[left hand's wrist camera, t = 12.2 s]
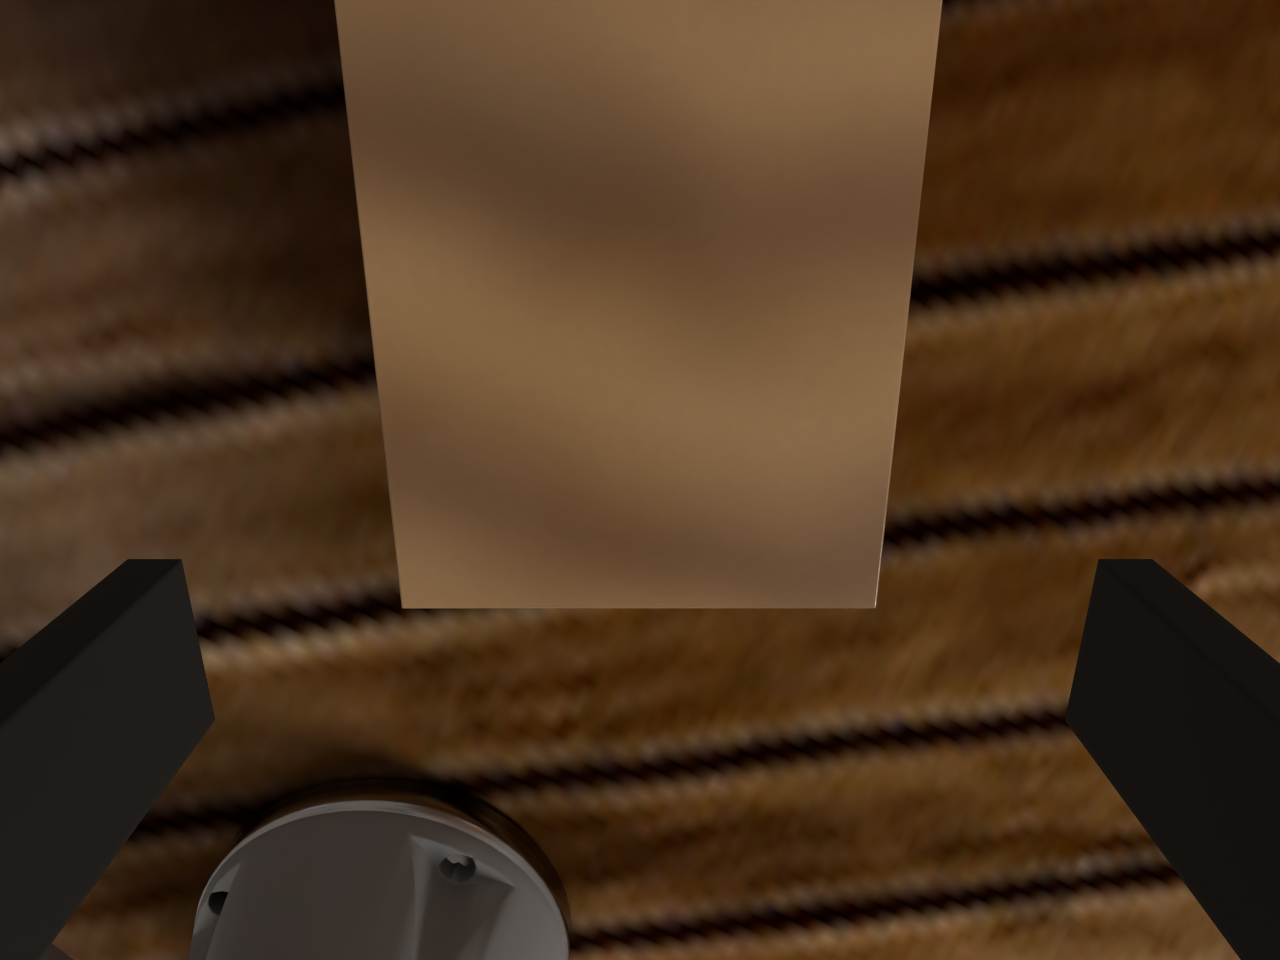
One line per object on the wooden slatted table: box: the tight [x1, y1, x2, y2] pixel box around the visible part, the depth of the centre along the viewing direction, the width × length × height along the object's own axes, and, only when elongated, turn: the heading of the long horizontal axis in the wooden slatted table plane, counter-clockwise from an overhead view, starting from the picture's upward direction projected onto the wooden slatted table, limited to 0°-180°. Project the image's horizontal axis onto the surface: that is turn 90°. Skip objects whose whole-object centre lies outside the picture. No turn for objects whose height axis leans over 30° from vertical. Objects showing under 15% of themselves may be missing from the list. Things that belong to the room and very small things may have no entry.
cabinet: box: [334, 0, 942, 608], centre depth 22 cm, size 19×11×11 cm, turn 0°
